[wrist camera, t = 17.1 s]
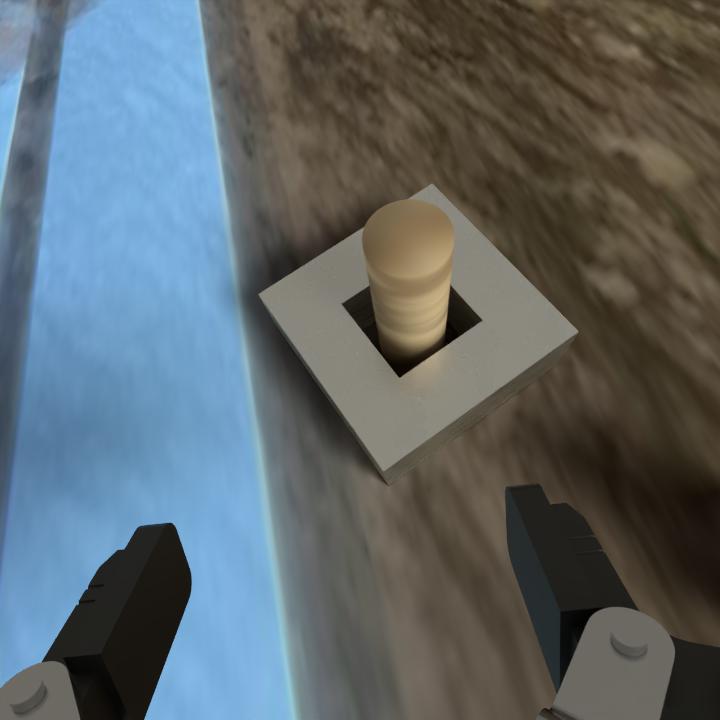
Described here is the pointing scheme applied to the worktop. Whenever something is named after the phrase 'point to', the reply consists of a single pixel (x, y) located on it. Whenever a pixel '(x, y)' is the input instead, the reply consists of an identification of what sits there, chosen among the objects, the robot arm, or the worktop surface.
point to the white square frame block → (437, 373)
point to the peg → (409, 279)
